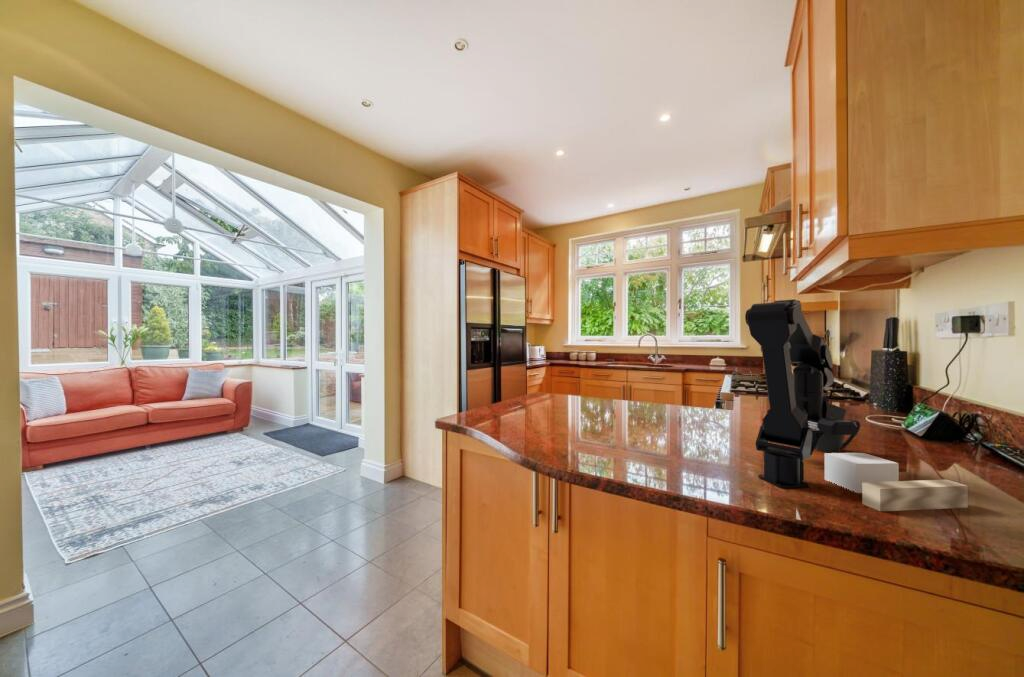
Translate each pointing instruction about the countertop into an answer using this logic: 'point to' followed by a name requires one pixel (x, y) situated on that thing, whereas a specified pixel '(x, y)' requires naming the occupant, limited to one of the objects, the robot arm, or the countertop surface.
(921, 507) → the board
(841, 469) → the block
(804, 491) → the countertop surface
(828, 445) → the mug
